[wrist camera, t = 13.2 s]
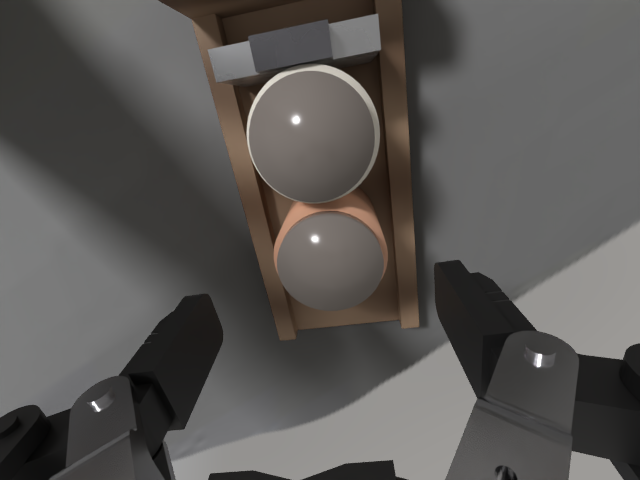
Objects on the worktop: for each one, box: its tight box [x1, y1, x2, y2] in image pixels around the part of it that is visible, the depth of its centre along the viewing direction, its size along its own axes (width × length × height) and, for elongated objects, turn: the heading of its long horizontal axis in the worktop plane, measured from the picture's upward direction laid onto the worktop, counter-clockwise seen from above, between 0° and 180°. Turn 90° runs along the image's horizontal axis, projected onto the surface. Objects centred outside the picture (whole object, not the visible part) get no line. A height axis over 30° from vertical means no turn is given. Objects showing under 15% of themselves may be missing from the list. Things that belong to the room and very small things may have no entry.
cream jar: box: [247, 64, 380, 204], centre depth 15 cm, size 6×6×6 cm
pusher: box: [208, 14, 381, 87], centre depth 14 cm, size 1×7×5 cm, turn 100°
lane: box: [159, 0, 419, 341], centre depth 17 cm, size 22×10×5 cm, turn 10°
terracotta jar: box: [274, 187, 388, 311], centre depth 18 cm, size 6×6×6 cm
